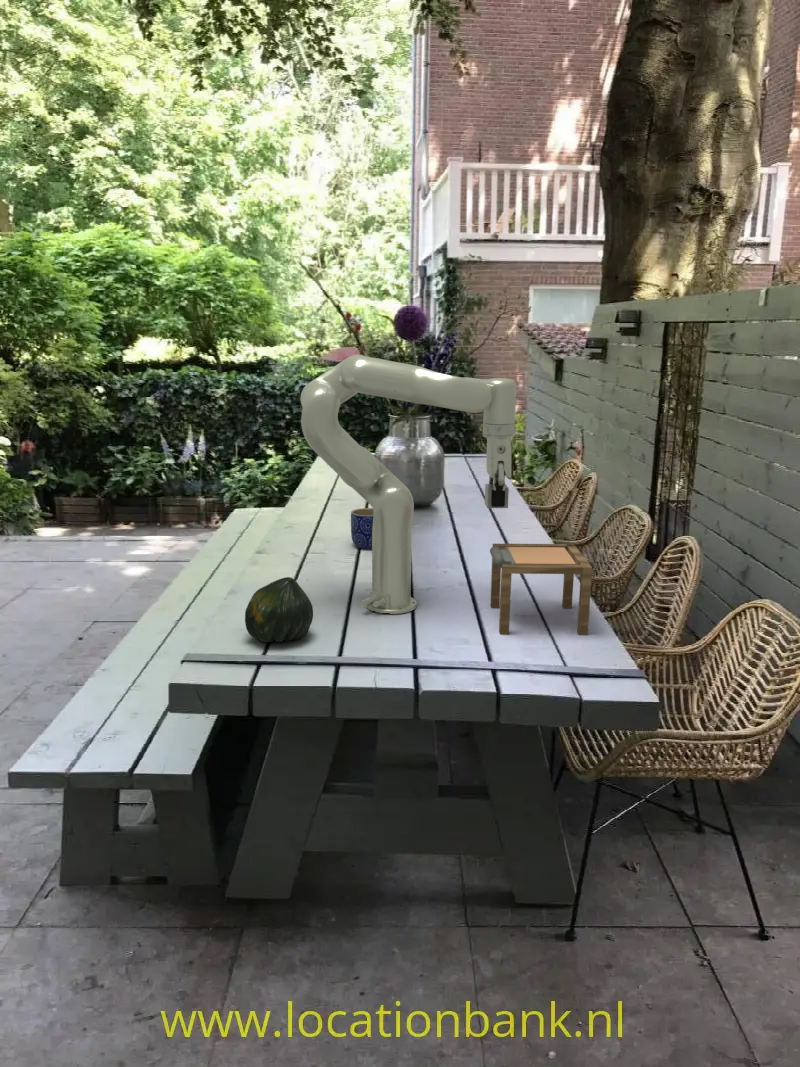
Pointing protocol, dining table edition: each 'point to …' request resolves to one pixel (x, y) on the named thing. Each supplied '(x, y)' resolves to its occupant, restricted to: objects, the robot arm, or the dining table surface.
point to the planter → (362, 527)
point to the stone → (489, 496)
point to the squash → (279, 612)
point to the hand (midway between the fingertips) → (496, 503)
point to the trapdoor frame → (567, 570)
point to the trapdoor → (531, 556)
